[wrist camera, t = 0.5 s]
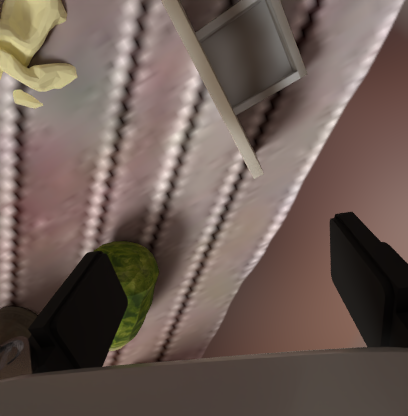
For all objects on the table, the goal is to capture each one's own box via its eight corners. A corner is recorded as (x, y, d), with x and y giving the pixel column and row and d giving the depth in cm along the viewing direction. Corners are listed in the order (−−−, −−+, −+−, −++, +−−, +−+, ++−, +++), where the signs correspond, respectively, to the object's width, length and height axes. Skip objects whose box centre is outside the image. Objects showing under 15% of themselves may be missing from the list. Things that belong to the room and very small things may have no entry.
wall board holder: (247, 157, 37) (253, 178, 29) (160, -13, 30) (136, -47, 22) (317, 120, 35) (345, 133, 27) (241, -77, 27) (248, -143, 19)
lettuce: (93, 311, 53) (62, 366, 43) (100, 225, 44) (63, 268, 34) (149, 324, 54) (132, 381, 44) (168, 241, 45) (151, 289, 34)
